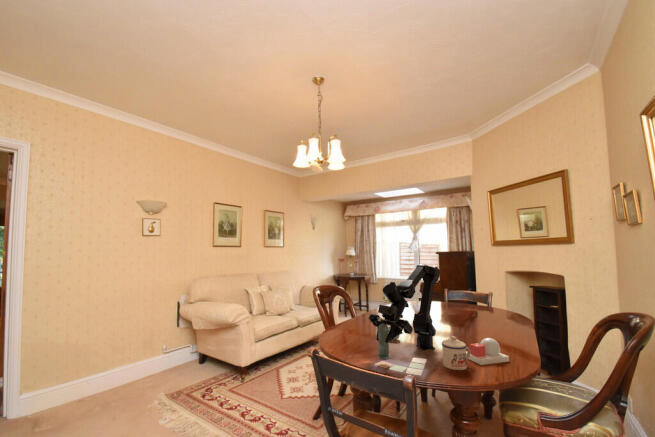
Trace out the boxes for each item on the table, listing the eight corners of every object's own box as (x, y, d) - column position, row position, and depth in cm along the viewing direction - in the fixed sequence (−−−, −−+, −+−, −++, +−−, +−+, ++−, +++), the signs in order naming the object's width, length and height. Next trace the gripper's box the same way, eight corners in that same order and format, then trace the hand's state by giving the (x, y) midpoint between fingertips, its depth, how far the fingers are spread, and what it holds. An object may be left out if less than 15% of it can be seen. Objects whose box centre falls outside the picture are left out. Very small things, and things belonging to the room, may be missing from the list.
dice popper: (490, 353, 133) (489, 334, 134) (509, 361, 123) (507, 340, 124) (463, 356, 129) (462, 336, 130) (480, 365, 120) (479, 343, 121)
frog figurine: (390, 337, 159) (390, 323, 160) (403, 339, 155) (402, 325, 156) (385, 339, 155) (385, 325, 156) (397, 342, 150) (397, 327, 151)
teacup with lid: (452, 373, 112) (451, 340, 114) (437, 364, 121) (436, 334, 122) (479, 369, 116) (477, 338, 117) (462, 361, 124) (461, 332, 125)
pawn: (389, 355, 122) (388, 322, 123) (390, 360, 117) (389, 325, 119) (377, 355, 123) (376, 322, 124) (378, 359, 118) (377, 325, 119)
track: (422, 357, 128) (422, 356, 128) (448, 373, 112) (448, 372, 112) (371, 363, 122) (371, 361, 122) (391, 381, 106) (391, 379, 106)
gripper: (370, 294, 132) (354, 325, 123) (407, 299, 118) (392, 334, 110) (382, 310, 136) (367, 340, 128) (418, 317, 123) (404, 351, 114)
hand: (381, 341), depth 120 cm, fingers closed on pawn, 4 cm apart
